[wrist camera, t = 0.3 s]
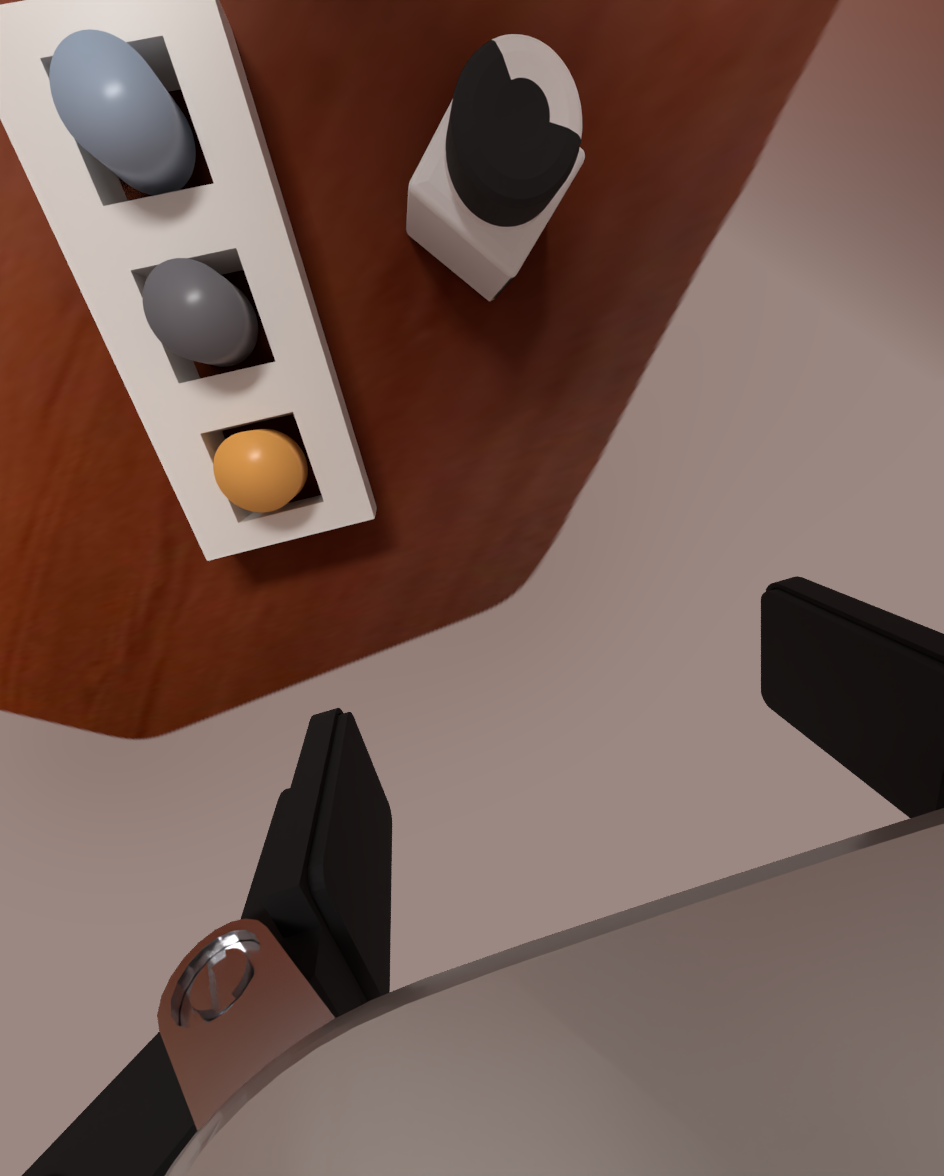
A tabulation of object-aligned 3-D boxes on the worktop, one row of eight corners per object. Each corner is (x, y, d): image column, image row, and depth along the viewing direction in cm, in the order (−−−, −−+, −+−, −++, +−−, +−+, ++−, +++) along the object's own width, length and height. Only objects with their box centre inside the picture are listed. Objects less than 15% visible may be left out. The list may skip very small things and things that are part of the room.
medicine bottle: (490, 304, 33) (538, 252, 22) (403, 233, 31) (408, 135, 20) (549, 205, 32) (632, 96, 21) (462, 122, 29) (502, -50, 18)
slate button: (75, 88, 24) (26, 40, 21) (170, 70, 25) (137, 20, 22) (122, 204, 26) (84, 175, 23) (210, 186, 27) (185, 155, 23)
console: (15, 70, 26) (-49, 13, 22) (232, 30, 26) (205, -32, 23) (226, 545, 36) (207, 561, 33) (376, 507, 37) (374, 518, 33)
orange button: (219, 438, 31) (198, 441, 28) (292, 421, 32) (280, 422, 28) (249, 510, 33) (232, 520, 30) (317, 493, 34) (309, 501, 30)
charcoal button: (156, 285, 28) (124, 269, 25) (239, 267, 28) (218, 248, 25) (193, 374, 30) (168, 370, 27) (270, 356, 30) (255, 350, 27)
